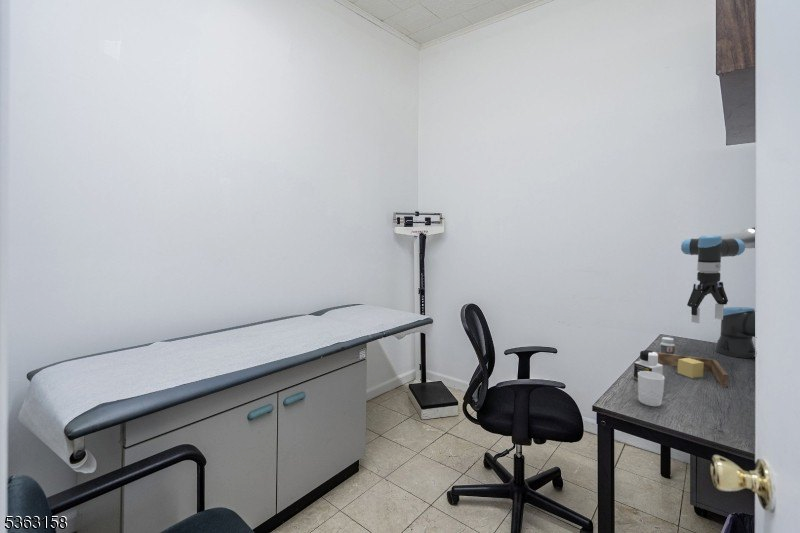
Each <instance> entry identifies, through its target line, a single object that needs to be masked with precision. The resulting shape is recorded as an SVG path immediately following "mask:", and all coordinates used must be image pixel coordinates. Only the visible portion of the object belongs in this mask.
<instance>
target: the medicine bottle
mask: <svg viewBox="0 0 800 533" xmlns="http://www.w3.org/2000/svg"><path fill="white" fill-rule="evenodd" d="M656 352H657V351H653V350H646V349H645V350H642V351H640V352H639V360H638V361H635V362H634V366H633V379H634V378H635V380H637V381H638V372H640V371H650V372H655V373H658V374H661V375H663V372H664V365H662V364H658V354H657V353H656Z"/></svg>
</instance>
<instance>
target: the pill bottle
mask: <svg viewBox="0 0 800 533" xmlns="http://www.w3.org/2000/svg"><path fill="white" fill-rule="evenodd" d="M674 342H675V339H674V338H673V337H666V336H663V337H661V342H660V346H659V353H667V354H675V352H676V351H675V349H676V344H675V343H674ZM675 355H676V354H675Z"/></svg>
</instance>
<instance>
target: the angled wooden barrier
mask: <svg viewBox="0 0 800 533" xmlns="http://www.w3.org/2000/svg"><path fill="white" fill-rule="evenodd" d="M655 352H656V353H657V354H658V364H661V365H663V366H670V367H677V368H678V359H683V358H691V359H695V360H698V361H701V362H704V366H703V371H706V372H711V373H712V375H713V376H714V377H715V379H716V380H717V381H718V383H719V385H720V386H721V387H722V388H728V382H729V374H728V373H727V372H726V371H725V369H724V368H723V367H722V365H721V364H720V363H719V361H718V360H717V359H714V358H707V357H706V358H705V357H697V356H689V355H682V354H667V353H660V351H659V352H658V351H655Z"/></svg>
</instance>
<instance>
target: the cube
mask: <svg viewBox="0 0 800 533" xmlns="http://www.w3.org/2000/svg"><path fill="white" fill-rule="evenodd" d="M703 366H704V362H701V361H698V360H695V359H691V358H683V359H678V367H677V373H680V374H682V375H681V376H683V375H685V376H688V377H691V378H695V377H702V376H704V370H703ZM677 373H676V374H677ZM680 374H679V375H680ZM685 376H684V377H685ZM688 377H687V378H688ZM691 378H690V379H691Z"/></svg>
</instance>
